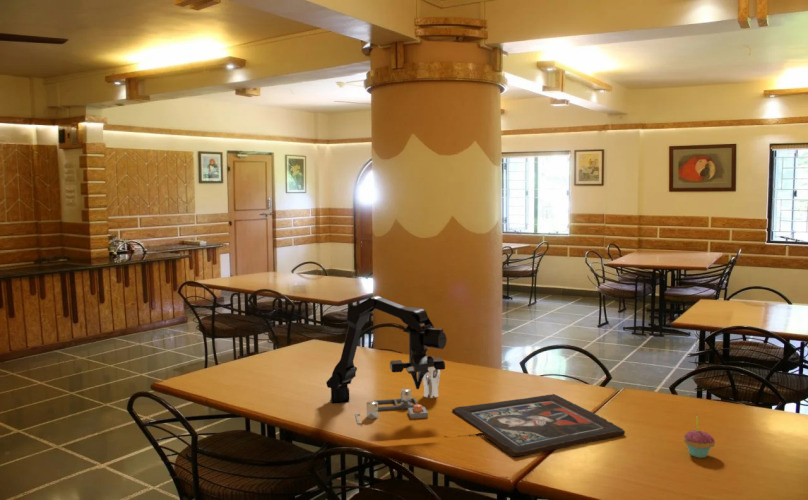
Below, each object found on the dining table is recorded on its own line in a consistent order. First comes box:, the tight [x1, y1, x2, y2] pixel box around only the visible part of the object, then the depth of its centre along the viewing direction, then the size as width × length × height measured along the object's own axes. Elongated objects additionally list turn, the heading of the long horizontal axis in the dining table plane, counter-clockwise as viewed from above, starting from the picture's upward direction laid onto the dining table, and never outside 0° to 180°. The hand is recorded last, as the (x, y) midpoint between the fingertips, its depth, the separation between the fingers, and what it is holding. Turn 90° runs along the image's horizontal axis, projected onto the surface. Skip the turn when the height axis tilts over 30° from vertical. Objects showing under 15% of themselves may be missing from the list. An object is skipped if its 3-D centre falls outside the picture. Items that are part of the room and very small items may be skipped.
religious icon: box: [451, 393, 626, 458], centre depth 217 cm, size 40×45×3 cm
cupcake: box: [683, 413, 716, 459], centre depth 191 cm, size 9×8×12 cm
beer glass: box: [422, 367, 441, 399], centre depth 244 cm, size 7×7×15 cm
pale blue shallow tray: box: [354, 413, 364, 425], centre depth 222 cm, size 11×9×1 cm
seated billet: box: [400, 388, 412, 405], centre depth 233 cm, size 4×4×6 cm
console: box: [407, 406, 429, 420], centre depth 223 cm, size 6×6×3 cm
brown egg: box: [413, 403, 423, 412], centre depth 223 cm, size 3×3×4 cm
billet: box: [366, 400, 379, 420], centre depth 221 cm, size 4×4×6 cm
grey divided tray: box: [373, 397, 419, 412], centre depth 233 cm, size 15×8×3 cm, turn 99°
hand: (417, 388), depth 222 cm, fingers closed
